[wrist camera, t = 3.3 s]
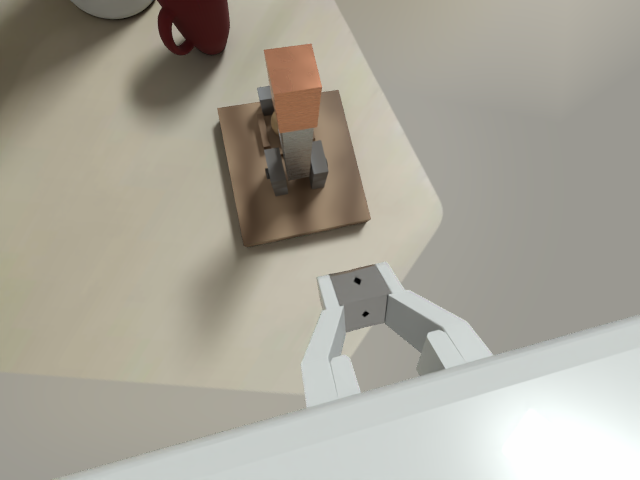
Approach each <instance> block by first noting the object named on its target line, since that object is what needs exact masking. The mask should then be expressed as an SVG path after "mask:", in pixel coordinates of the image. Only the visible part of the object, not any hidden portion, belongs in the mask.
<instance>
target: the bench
mask: <svg viewBox="0 0 640 480" xmlns="http://www.w3.org/2000/svg"><path fill="white" fill-rule="evenodd" d="M257 90H258V95H259V100H260V102H255V103H249V104H242V105H235V106H229V107H222V108H217V109H218V115H219V120H220V125H221V130H222V135H223V141H224V146H225V151H226V156H227V161H228V167H229V172H230V177H231V182H232V187H233V193H234V198H235V203H236V208H237V213H238V219H239V224H240V229H241V234H242V239H243V245H244V246H245V247H251V246H256V245H261V244H265V243H270V242H275V241H279V240H284V239H289V238H294V237H298V236H303V235H308V234H313V233H317V232H322V231H327V230H331V229H336V228H341V227H346V226H350V225H355V224H360V223H365V222H367V221H369V220H370V219H371V217H370V213H369V209H368V205H367V201H366V198H365V194H364V190H363V186H362V182H361V178H360V174H359V170H358V166H357V162H356V158H355V154H354V150H353V146H352V142H351V138H350V134H349V130H348V126H347V122H346V118H345V114H344V110H343V106H342V102H341V98H340V94H339V90H335V91H328V92H321V99H320V108H319V116H318V125H317V127H316V128H314V131H313V142H312V152H311V163H310V174H309V177H305V178H300V179H294V180H289V181H288V176H287V171H286V167H285V162H284V158H283V153H282V149H281V144H280V137H279V136H278V135H277V134H276V133H275V132H274V131H273V129H272V126H271V117H272V114H273V113H274V111H275V110H274V106H273V101H272V96H271V90H270V86H266V87H259V88H257Z"/></svg>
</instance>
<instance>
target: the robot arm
mask: <svg viewBox="0 0 640 480" xmlns="http://www.w3.org/2000/svg"><path fill="white" fill-rule="evenodd" d="M317 284H318V290H319V296H320V301H321V306H322V312H321V314H320V317H319V320H318V322H317V325H316V327H315V330H314V332H313V335H312V337H311V340H310V343H309V345H308V348H307V350H306V353H305V355H304V358H303V360H302V363H301V370H302V377H303V384H304V391H305V398H306V405H307V408H304V409H301V410H297V411H293V412H290V413H286V414H283V415H279V416H276V417H272V418H269V419H265V420H261V421H258V422H254V423H251V424H247V425H244V426H240V427H237V428H233V429H230V430H226V431H222V432H219V433H215V434H212V435H208V436H204V437H201V438H197V439H194V440H190V441H187V442H183V443H179V444H176V445H172V446H169V447H165V448H162V449H158V450H155V451H151V452H148V453H144V454H140V455H137V456H134V457H130V458H126V459H123V460H119V461H115V462H112V463H108V464H105V465H101V466H98V467H94V468H91V469H87V470H83V471H80V472H76V473H73V474H69V475H66V476H62V477H59V478H56V479H52V480H640V315H636V316H632V317H629V318H625V319H621V320H618V321H615V322H611V323H607V324H604V325H600V326H596V327H593V328H590V329H586V330H582V331H579V332H575V333H571V334H568V335H564V336H561V337H557V338H554V339H550V340H546V341H543V342H540V343H536V344H532V345H529V346H525V347H522V348H518V349H514V350H511V351H508V352H504V353H500V354H497V355H493V354H492V353H491V352H490V350H489V349H488V348H487V346H486V345H485V344H484V343H483V341H482V340H481V339H480V337H479V336H478V335H477V334H476V332H475V331H474V330H473V329H472V327H471V326H470V325H469V323H468V322H467V321H465V320H463V319H461V318H460V317H458V316H456V315H454V314H452V313H450V312H448V311H447V310H445V309H443V308H441V307H439V306H437V305H436V304H434V303H432V302H430V301H429V300H427V299H425V298H423V297H421V296H419V295H418V294H416V293H414V292H412V291H410V290H405V289H404V288H403V286H402V285H401V283H400V281H399V280H398V278H397V277H396V275H395V274H394V272H393V270H392V269H391V267H390V266H389V264H388V263H387V262H382V263H378V264H374V265H369V266H364V267H360V268H356V269H352V270H349V271H344V272H339V273H334V274H329V275H325V276H320V277H317ZM381 323H385V324H386V325H387V326H389V327H390V328H391V329H392V330H393V331H395V332H396V333H397V334H398V335H400V336H401V337H402V338H403V339H404V340H406V341H407V342H408V343H409V344H411V345H412V346H413V347H414V348H416V349H417V350H418V351H419V352H421V356H420V359H419V362H418V365H417V371H418V373H419V375H420V376H418V377H415V378H411V379H408V380H404V381H400V382H397V383H393V384H390V385H386V386H383V387H379V388H376V389H372V390H369V391H365V392H361V391H360V388H359V385H358V382H357V379H356V376H355V373H354V370H353V366H352V363H351V360H350V357H348V356H346V355H341V352H342V348H343V344H344V339H345V335H346V332H350V331H353V330H357V329H360V328H364V327H368V326H373V325H377V324H381Z"/></svg>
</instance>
